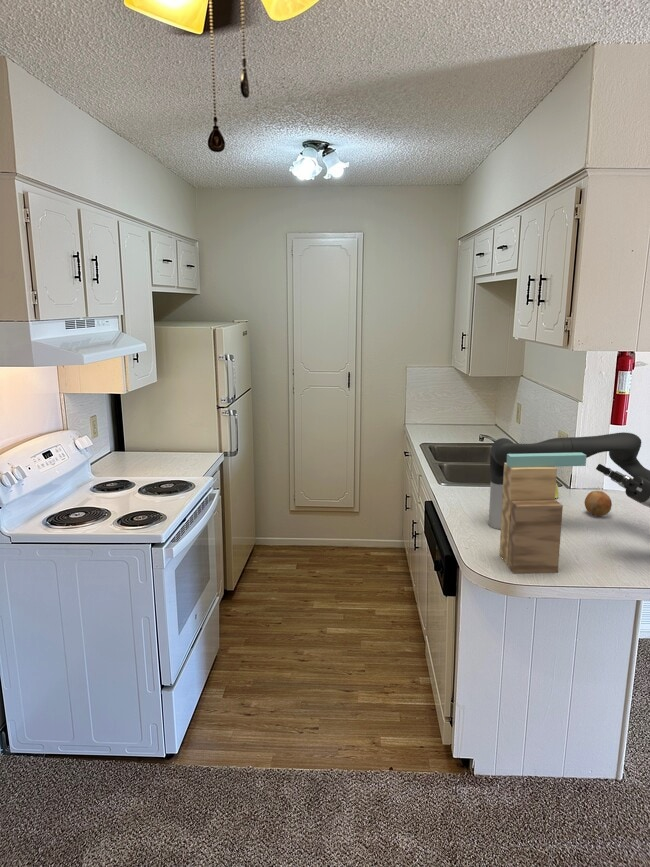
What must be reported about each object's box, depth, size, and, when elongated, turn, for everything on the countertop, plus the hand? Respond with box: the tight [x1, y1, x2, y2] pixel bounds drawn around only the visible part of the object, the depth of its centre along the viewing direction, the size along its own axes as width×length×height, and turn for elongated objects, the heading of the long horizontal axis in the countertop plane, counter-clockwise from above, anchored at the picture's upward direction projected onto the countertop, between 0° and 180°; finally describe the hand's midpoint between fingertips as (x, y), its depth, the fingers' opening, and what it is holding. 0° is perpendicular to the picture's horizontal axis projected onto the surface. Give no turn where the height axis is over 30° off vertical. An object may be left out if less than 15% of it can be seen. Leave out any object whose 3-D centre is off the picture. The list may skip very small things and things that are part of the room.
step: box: [507, 499, 564, 574], centre depth 186 cm, size 5×14×22 cm, turn 91°
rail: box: [506, 452, 587, 468], centre depth 189 cm, size 4×24×4 cm, turn 92°
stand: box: [499, 463, 558, 566], centre depth 192 cm, size 8×14×32 cm, turn 91°
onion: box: [584, 490, 613, 517], centre depth 234 cm, size 10×10×10 cm
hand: (604, 469), depth 190 cm, fingers open, 8 cm apart
